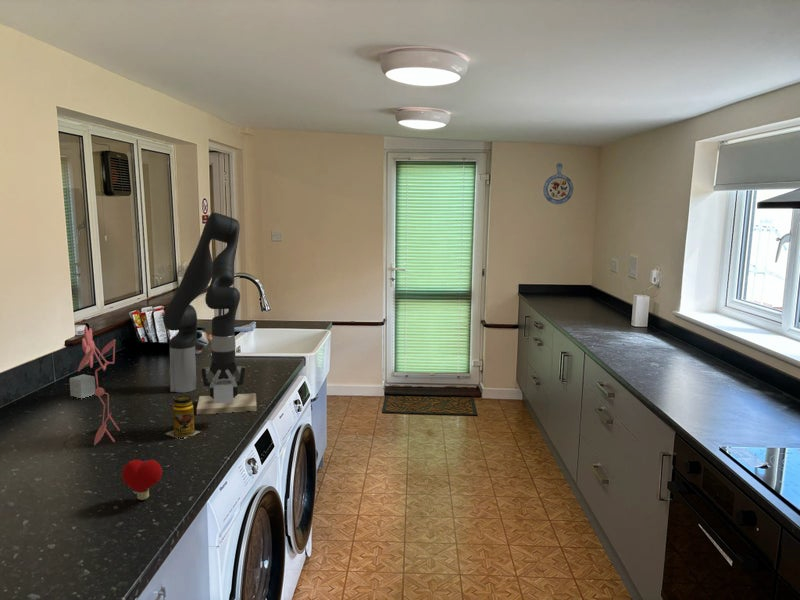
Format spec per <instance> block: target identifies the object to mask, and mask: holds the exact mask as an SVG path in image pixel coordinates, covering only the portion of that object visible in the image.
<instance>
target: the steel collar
mask: <svg viewBox="0 0 800 600" xmlns="http://www.w3.org/2000/svg"><path fill="white" fill-rule="evenodd" d="M214 403H233V383H232V382H231V381H230V379H229V378H228V379H217V381H216V383H215V384H214Z"/></svg>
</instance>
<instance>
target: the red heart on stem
mask: <svg viewBox="0 0 800 600" xmlns="http://www.w3.org/2000/svg"><path fill="white" fill-rule="evenodd" d="M162 476H163V468H162V466H161V465H160V463H159V462H158V461H156V460H154V459H148V460H145V461H143V460H140V459H133V460H130V461H128V462H127V463H126V464H125V465H124V466H123V468H122V470H121V478H122V480H123V483H124V484H125V485H126V486H127V487H128V488H130V489H131V490H133V491H135V492H136V497H137V499H138V500H140V501H145V500H147V499H148V498H149V497H150V488H152V487H153V486H156V485H157V484H158V483H159V482H160V481H161V479H162Z"/></svg>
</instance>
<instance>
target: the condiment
mask: <svg viewBox="0 0 800 600" xmlns="http://www.w3.org/2000/svg"><path fill="white" fill-rule="evenodd" d="M194 409H195V408H194V405H193V398H192V396H190V395H187V394H186V395H184V394H183V395H179V396H175V398H173V407H172V416H173V417H172V419H173V420H172V421H173V422H172V423H173V430H171V431H168V432H165V433H166V434H165V435H166V436H170V437H173V438H176V439H178V437H181V438H182V437H184V439H183V440H185V439H187V437H188V436H191V437H193V436H194V435H197V434H199V433H201V431H200V430H195V414H194V413H195V412H194ZM174 436H175V437H174ZM188 438H189V437H188ZM179 440H181V439H180V438H179Z"/></svg>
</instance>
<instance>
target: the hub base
mask: <svg viewBox="0 0 800 600" xmlns="http://www.w3.org/2000/svg"><path fill="white" fill-rule="evenodd" d="M256 393H257V392H256ZM256 393H255V392H253V393H238V394H237V396H235V398H233V403H214V399H212V397H210V395H200V396H199V398H198V402H197V406H196V416H199V414H200V416H201V414H202V415H216V413H218V414H230V413H232V412H234V413H248V412H247V411H250V412H257V407H258V405H257V394H256Z"/></svg>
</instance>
